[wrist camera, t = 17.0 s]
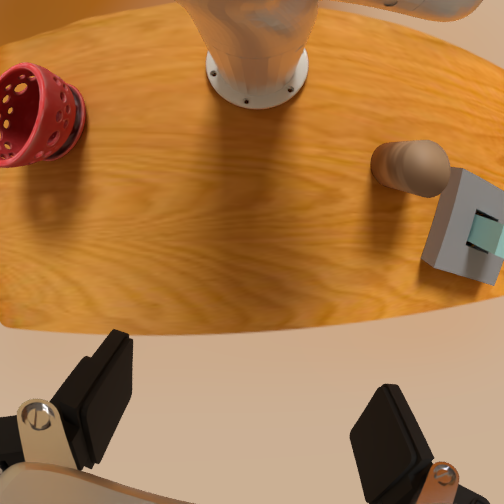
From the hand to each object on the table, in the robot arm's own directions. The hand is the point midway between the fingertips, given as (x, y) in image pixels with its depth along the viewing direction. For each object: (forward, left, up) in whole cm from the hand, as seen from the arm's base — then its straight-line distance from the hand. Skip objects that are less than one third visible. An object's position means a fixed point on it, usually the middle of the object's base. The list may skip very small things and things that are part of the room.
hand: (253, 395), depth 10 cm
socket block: (-8, +31, -30) cm, 44 cm away
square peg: (-8, +31, -30) cm, 44 cm away
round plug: (-12, +15, -30) cm, 36 cm away
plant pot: (-9, -32, -31) cm, 45 cm away
